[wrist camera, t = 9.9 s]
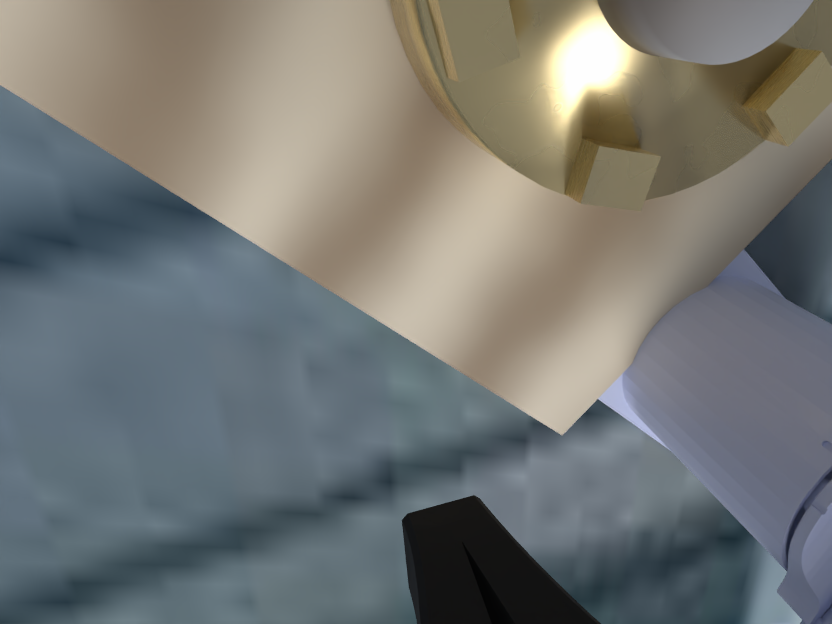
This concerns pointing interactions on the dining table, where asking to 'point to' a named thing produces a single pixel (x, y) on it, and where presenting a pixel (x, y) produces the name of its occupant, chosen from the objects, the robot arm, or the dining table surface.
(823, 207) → the dining table surface
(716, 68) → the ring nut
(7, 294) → the dining table surface
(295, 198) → the base plate
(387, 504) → the dining table surface
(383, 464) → the dining table surface
